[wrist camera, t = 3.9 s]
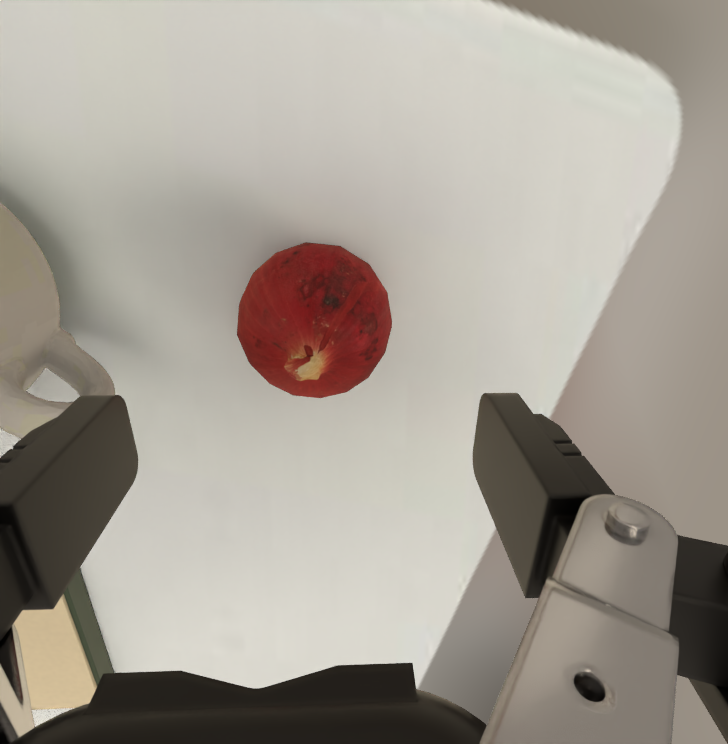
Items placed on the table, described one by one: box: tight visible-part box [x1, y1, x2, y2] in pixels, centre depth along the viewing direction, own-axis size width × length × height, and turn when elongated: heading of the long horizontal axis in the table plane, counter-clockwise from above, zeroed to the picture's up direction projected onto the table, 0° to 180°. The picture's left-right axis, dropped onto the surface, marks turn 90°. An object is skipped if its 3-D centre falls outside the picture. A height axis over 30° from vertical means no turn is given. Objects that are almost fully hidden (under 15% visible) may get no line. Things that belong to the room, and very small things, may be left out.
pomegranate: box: [237, 243, 392, 398], centre depth 18 cm, size 6×6×8 cm
